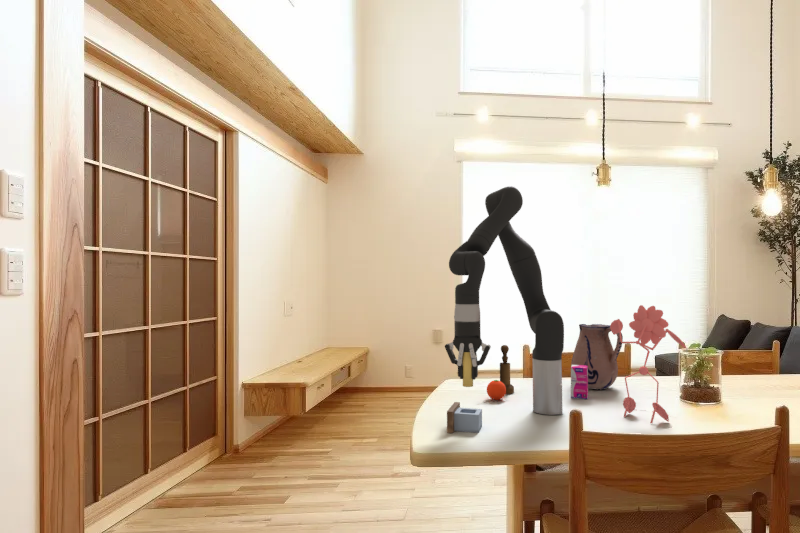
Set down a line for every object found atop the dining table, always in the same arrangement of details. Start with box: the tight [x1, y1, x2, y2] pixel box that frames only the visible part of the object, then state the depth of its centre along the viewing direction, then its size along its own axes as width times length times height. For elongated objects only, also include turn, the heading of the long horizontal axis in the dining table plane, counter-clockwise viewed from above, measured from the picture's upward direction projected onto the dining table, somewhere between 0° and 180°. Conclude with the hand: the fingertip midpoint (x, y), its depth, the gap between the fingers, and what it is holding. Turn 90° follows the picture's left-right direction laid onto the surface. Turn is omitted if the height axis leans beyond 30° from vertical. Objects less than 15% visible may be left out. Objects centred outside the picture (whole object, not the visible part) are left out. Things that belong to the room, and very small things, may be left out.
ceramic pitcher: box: [570, 323, 624, 390], centre depth 210 cm, size 18×21×25 cm
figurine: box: [609, 304, 687, 429], centre depth 165 cm, size 15×26×35 cm, turn 31°
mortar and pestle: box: [499, 344, 515, 395], centre depth 203 cm, size 7×6×18 cm
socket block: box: [454, 407, 483, 434], centre depth 154 cm, size 7×7×5 cm
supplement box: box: [570, 365, 589, 400], centre depth 193 cm, size 6×6×12 cm
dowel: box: [462, 352, 474, 388], centre depth 154 cm, size 3×3×10 cm
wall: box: [446, 401, 461, 434], centre depth 155 cm, size 2×12×6 cm, turn 164°
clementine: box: [486, 379, 507, 401], centre depth 191 cm, size 8×7×7 cm
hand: (467, 378), depth 154 cm, fingers closed on dowel, 3 cm apart
